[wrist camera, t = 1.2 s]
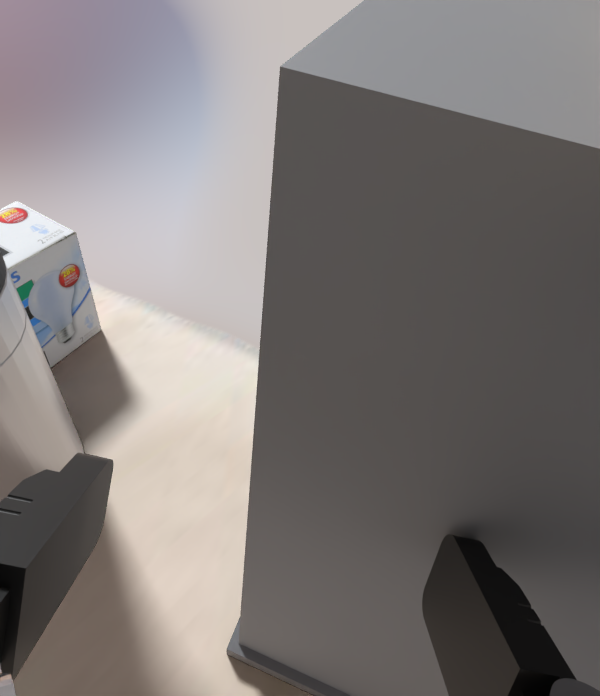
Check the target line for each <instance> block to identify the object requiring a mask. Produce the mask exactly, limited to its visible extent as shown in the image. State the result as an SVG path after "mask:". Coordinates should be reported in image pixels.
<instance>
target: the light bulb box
mask: <svg viewBox="0 0 600 696" xmlns="http://www.w3.org/2000/svg"><path fill="white" fill-rule="evenodd" d="M0 252H1V254H2V256H3V259H4V261H5V264H6V266H7V268H8V271H9V273H10V275H11V278H12V280H13V282H14V285H15V287H16V290H17V292H18V294H19V297H20V299H21V301H22V303H23V305H24V308H25V310H26V312H27V315H28V317H29V319H30V322H31V324H32V326H33V329H34V331H35V333H36V336H37V338H38V340H39V343H40V345H41V348H42V350H43V352H44V355H45V357H46V359H47V362H48V364H49V366H50V368H51V367H52V366H54V365H55V364H56V363H58V362H59V361H60V360H62V359H63V358H64V357H66V356H67V355H68V354H70V353H71V352H72V351H74V350H75V349H76V348H78V347H79V346H80V345H82V344H83V343H84V342H86V341H87V340H88V339H90V338H91V337H92V336H94V335H95V334H96V333H98V332H99V331H100V330H101V326H100V322H99V319H98V315H97V311H96V307H95V303H94V299H93V296H92V292H91V288H90V284H89V280H88V277H87V273H86V269H85V266H84V262H83V258H82V254H81V250H80V246H79V242H78V238H77V234H76V232H74V231H73V230H71V229H69V228H67V227H65V226H63V225H61V224H59V223H57V222H55V221H53V220H51V219H50V218H48V217H46V216H44V215H42V214H40V213H38V212H36V211H34V210H32V209H31V208H29V207H27V206H25V205H23V204H21V203H19V202H17V201H16V202H14V203H12V204H10V205H8V206H6V207H4V208H2V209H0Z"/></svg>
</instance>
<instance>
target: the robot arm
mask: <svg viewBox="0 0 600 696" xmlns="http://www.w3.org/2000/svg"><path fill="white" fill-rule="evenodd" d="M112 472H113V460H111V459H107V458H102V457H98V456H93V455H89V454H84V451H83V446H82V442H81V440H80V438H79V435H78V433H77V431H76V428H75V426H74V423H73V421H72V419H71V416H70V414H69V411H68V409H67V406H66V404H65V402H64V399H63V397H62V395H61V392H60V390H59V388H58V385H57V383H56V381H55V378H54V376H53V373H52V371H51V369H50V366H49V364H48V362H47V359H46V357H45V355H44V352H43V350H42V348H41V345H40V343H39V340H38V338H37V336H36V333H35V331H34V329H33V326H32V324H31V322H30V319H29V317H28V315H27V312H26V310H25V308H24V305H23V303H22V301H21V299H20V297H19V294H18V292H17V290H16V287H15V285H14V282H13V280H12V278H11V275H10V273H9V271H8V268H7V266H6V264H5V261H4V259H3V256H2V254H1V252H0V696H16V694H15V689H14V683H13V681H14V679H15V677H16V676H17V674H18V672H19V671H20V669H21V667H22V666H23V664H24V663H25V661H26V659H27V658H28V656H29V654H30V653H31V651H32V649H33V648H34V646H35V644H36V643H37V641H38V640H39V638H40V636H41V635H42V633H43V631H44V630H45V628H46V626H47V625H48V623H49V621H50V620H51V618H52V617H53V615H54V613H55V612H56V610H57V608H58V607H59V605H60V603H61V602H62V600H63V598H64V597H65V595H66V594H67V592H68V590H69V589H70V587H71V585H72V584H73V582H74V580H75V579H76V577H77V575H78V574H79V572H80V570H81V569H82V567H83V566H84V564H85V562H86V561H87V559H88V557H89V556H90V554H91V552H92V551H93V549H94V547H95V545H96V543H97V541H98V538H99V536H100V533H101V530H102V526H103V523H104V518H105V512H106V507H107V501H108V495H109V489H110V483H111V477H112ZM422 611H423V617H424V620H425V624H426V627H427V630H428V633H429V636H430V639H431V642H432V645H433V648H434V651H435V654H436V658H437V661H438V664H439V667H440V670H441V673H442V676H443V679H444V682H445V685H446V688H447V692H448V695H449V696H600V691H599V690H597V689H595V688H594V687H592V686H590V685H588V684H586V683H584V682H581V681H578V680H577V679H576V678H575V676H574V674H573V673H572V671H571V669H570V668H569V666H568V665H567V663H566V661H565V660H564V658H563V656H562V655H561V653H560V652H559V650H558V648H557V647H556V645H555V643H554V642H553V640H552V638H551V637H550V635H549V634H548V632H547V630H546V629H545V627H544V626H543V625H541V620H540V619H539V617H538V616H537V614H536V612H535V611H534V609H531V604H530V602H529V601H528V599H527V598H526V596H525V594H524V593H523V591H522V589H521V588H520V586H519V585H518V584H517V583H516V582H515V581H514V580H513V579H512V578H511V577H510V576H509V575H508V574H507V573H506V572H505V571H504V570H503V569H502V568H499V567H496V565H495V563H494V561H493V560H492V558H491V556H490V555H489V553H488V551H487V549H486V548H485V546H484V544H483V543H482V542H481V541H479V540H474V539H470V538H465V537H460V536H456V535H451V534H448V535H446V536H445V537H444V539H443V540H442V542H441V545H440V548H439V550H438V553H437V556H436V558H435V561H434V564H433V566H432V569H431V572H430V574H429V577H428V579H427V582H426V585H425V588H424V592H423V598H422Z"/></svg>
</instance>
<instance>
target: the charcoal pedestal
mask: <svg viewBox="0 0 600 696" xmlns="http://www.w3.org/2000/svg"><path fill="white" fill-rule="evenodd" d="M272 174H273V175H272V187H271V201H270V215H269V230H268V243H267V258H266V271H265V285H264V298H263V312H262V326H261V340H260V353H259V367H258V381H257V395H256V408H255V422H254V436H253V450H252V464H251V477H250V491H249V505H248V519H247V533H246V547H245V560H244V574H243V588H242V602H241V616H240V618H239V621H238V623H237V626H236V628H235V630H234V633H233V635H232V638H231V640H230V642H229V645H228V647H227V655H229V656H232V657H234V658H236V659H238V660H240V661H242V662H244V663H246V664H248V665H251V666H253V667H255V668H257V669H259V670H261V671H263V672H265V673H268V674H270V675H272V676H274V677H276V678H278V679H280V680H282V681H284V682H287V683H289V684H291V685H293V686H295V687H297V688H299V689H301V690H304V691H306V692H308V693H310V694H312V695H314V696H449V695H448V692H447V688H446V685H445V682H444V679H443V676H442V673H441V670H440V667H439V664H438V661H437V658H436V654H435V651H434V648H433V645H432V642H431V639H430V636H429V633H428V630H427V627H426V624H425V620H424V617H423V611H422V598H423V592H424V588H425V585H426V582H427V579H428V577H429V574H430V572H431V569H432V566H433V564H434V561H435V558H436V556H437V553H438V550H439V548H440V545H441V542H442V540H443V539H444V537H445V536H446V535H448V534H451V535H456V536H460V537H465V538H470V539H474V540H479V541H481V542H482V543H483V544H484V546H485V548H486V549H487V551H488V553H489V555H490V556H491V558H492V560H493V561H494V563H495V565H496V567H499V568H502V569H503V570H504V571H505V572H506V573H507V574H508V575H509V576H510V577H511V578H512V579H513V580H514V581H515V582H516V583H517V584H518V585H519V586H520V588H521V589H522V591H523V593H524V594H525V596H526V598H527V599H528V601H529V602H530V604H531V609H534V611H535V612H536V614H537V616H538V617H539V619H540V620H541V625H543V626H544V627H545V629H546V630H547V632H548V634H549V635H550V637H551V638H552V640H553V642H554V643H555V645H556V647H557V648H558V650H559V652H560V653H561V655H562V656H563V658H564V660H565V661H566V663H567V665H568V666H569V668H570V669H571V671H572V673H573V674H574V676H575V678H576V679H577V680H578V681H581V682H584V683H586V684H588V685H590V686H592V687H594V688H595V689H597V690H599V691H600V0H364V1H363V2H362V3H360V4H359V5H358V6H356V7H355V8H354V9H353V10H351V11H350V12H349V13H348V14H347V15H345V16H344V17H342V18H341V19H340V20H339V21H338V22H336V23H335V24H334V25H332V26H331V27H330V28H329V29H327V30H326V31H325V32H323V33H322V34H321V35H320V36H318V37H317V38H316V39H315V40H313V41H312V42H311V43H309V44H308V45H307V46H306V47H304V48H303V49H302V50H301V51H299V52H298V53H297V54H295V55H294V56H293V57H292V58H290V59H289V60H288V61H287V62H285V63H284V64H283V65H282V66H281V67H280V77H279V92H278V104H277V118H276V132H275V146H274V160H273V173H272Z"/></svg>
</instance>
